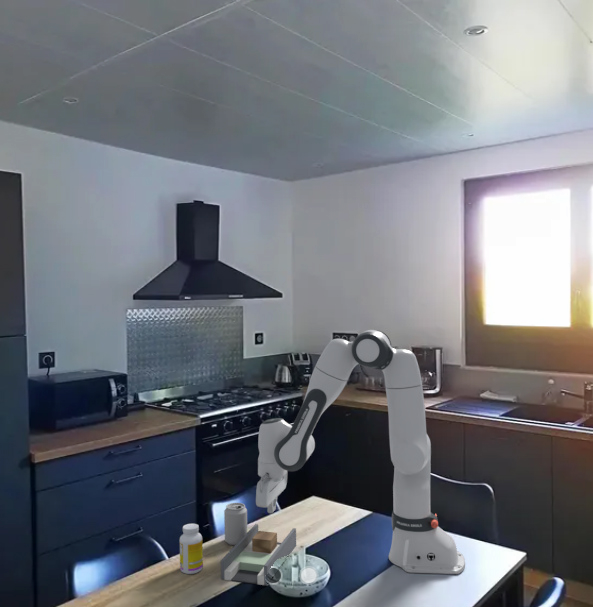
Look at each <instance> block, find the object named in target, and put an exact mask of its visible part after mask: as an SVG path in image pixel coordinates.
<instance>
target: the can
mask: <svg viewBox="0 0 593 607" xmlns="http://www.w3.org/2000/svg"><path fill="white" fill-rule="evenodd" d="M223 512H224V514H223V516H224V518H223V519H224V541H225V542H226V543H227V545H229V546H230V545H231V546H235V545H236V544H237V543H238V542H239V541H240V540H241V539H242V538H243V537H244V536H245V535H246V533H247V532H248V509H247V508H246V505H245V504H244V503H242V502H231V503H228V504H227V505H226V506H225V509H224V510H223Z"/></svg>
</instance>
